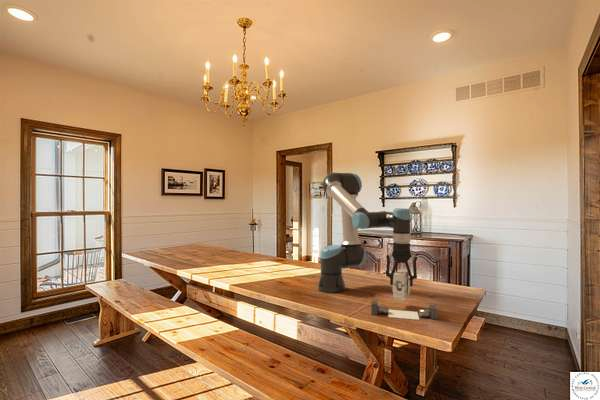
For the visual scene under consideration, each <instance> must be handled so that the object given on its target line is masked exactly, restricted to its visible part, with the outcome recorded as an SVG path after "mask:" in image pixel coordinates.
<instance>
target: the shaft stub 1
mask: <svg viewBox="0 0 600 400" xmlns="http://www.w3.org/2000/svg"><path fill="white" fill-rule="evenodd" d="M378 304H379V301H378V300H374V299H373V300H371V305H370V306H371V315H375V316H378V314H386V315H387V314H388V306H385V305H378Z"/></svg>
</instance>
